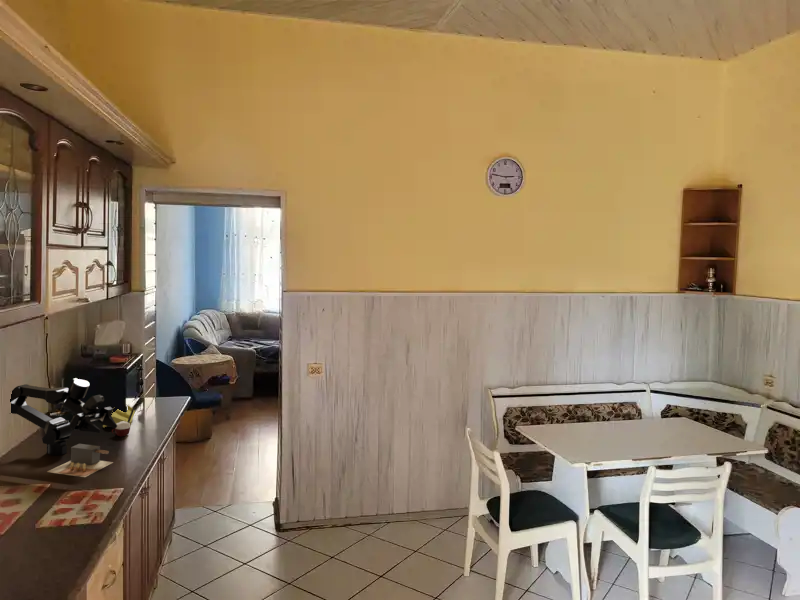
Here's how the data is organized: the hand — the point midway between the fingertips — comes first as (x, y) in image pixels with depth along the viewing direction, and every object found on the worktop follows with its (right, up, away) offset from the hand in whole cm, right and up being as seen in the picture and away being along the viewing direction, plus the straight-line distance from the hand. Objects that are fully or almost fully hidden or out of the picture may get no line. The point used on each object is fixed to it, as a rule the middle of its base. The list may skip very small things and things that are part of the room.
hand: (108, 429), depth 237 cm
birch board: (-8, -14, -6) cm, 17 cm away
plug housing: (-6, -13, -1) cm, 14 cm away
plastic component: (-21, -9, +56) cm, 60 cm away
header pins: (-6, -13, -10) cm, 18 cm away
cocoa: (-11, -11, +38) cm, 41 cm away
